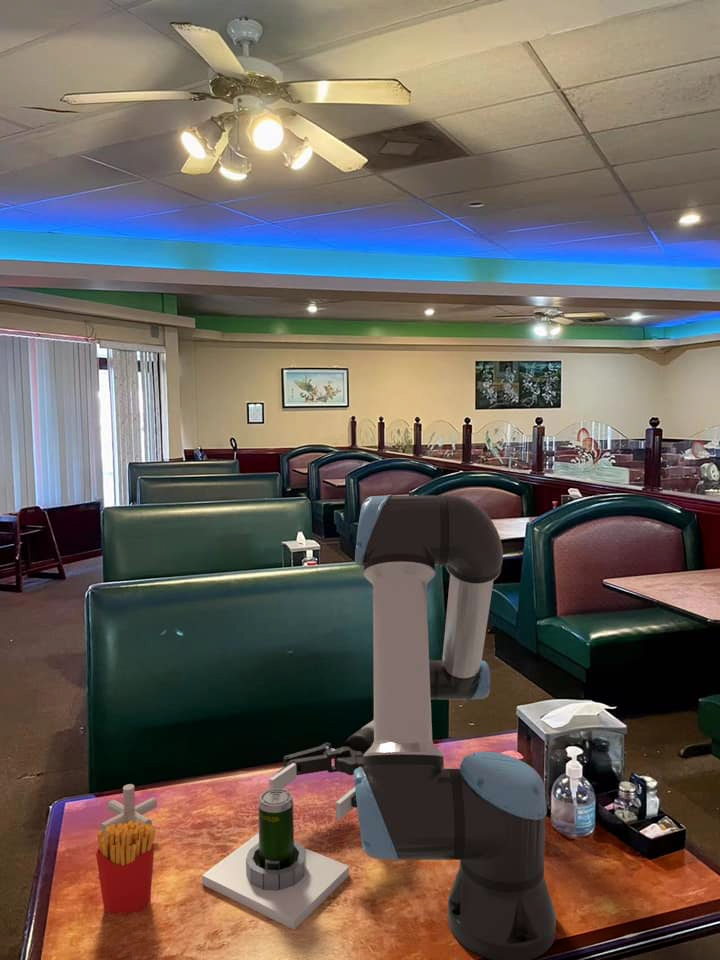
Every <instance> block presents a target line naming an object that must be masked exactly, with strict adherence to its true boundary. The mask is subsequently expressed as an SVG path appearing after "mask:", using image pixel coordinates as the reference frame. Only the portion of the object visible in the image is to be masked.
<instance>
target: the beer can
mask: <svg viewBox="0 0 720 960" xmlns="http://www.w3.org/2000/svg"><path fill="white" fill-rule="evenodd" d="M257 806H258V833H259V867H261V868H263V869H265V870H281V869H284V868H287V867H290V866H291V865H293V864H294V841H295V839H294V836H295V834H294V828H295V827H294V800H293V796H292V793H291V792H290V791H289V790H287V789H284V788H283V789H271V790H270V789H267V790H266V791H263V792H262V793H261V794H260V796H259V802H258V805H257Z"/></svg>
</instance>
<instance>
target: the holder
mask: <svg viewBox="0 0 720 960" xmlns="http://www.w3.org/2000/svg"><path fill="white" fill-rule="evenodd" d="M349 876H350V866H349V865H347V864H345V863H342V862H340V861H336V860H334V859H332V858H329V857H327V856H325V855H322V854H320V853H318V852H315V851H313V850H310V849H308V848H305V847H304V846H303V845H302V844H301V843H299V841H295V840H294V864H293V865H291V866H290V867H287V868H284V869H281V870H265V869H263V868H261V867H259V832H257V833H256V834H255V835H254V836H253V837H251V838H250V839H249V840H247V841H246V842H244V843H243V844H241V845H240V846H239V847H237V848H236V849H235V850H234V851H232V852H231V853H230V854H228V855H227V856H225V857H224V858H223V859H222V860H221V861H219V862H218V863H216V864H215V865H214V866H212V867H211V868H209V870H207V871H206V872H205V873H203V874H202V875H201V879H202V881H201V883H202V884H201V885H203V886H205V887H207V888H209V889H210V890H212V891H215V892H217V893H218V894H221V895H223V896H225V897H227V898H229V899H231V900H233V901H235V902H236V903H238V904H241V905H242V906H245V907H247V908H249V909H250V910H253V911H255V912H258V913H259V914H261V915H262V916H265V917H267V918H269V919H271V920H273V921H274V922H277V923H279V924H282V925H283V926H285V927H287V928H289V929H291V930H293V931H295V930H296V929H297V928H298V927H299V926H300V925H301V924H302V923H304V921H305V920H306V919H307V918H308V917H309V916H310V915H311V914H313V912H314V911H315V910H316V909H318V908H319V906H321V904H322V903H323V902H324V901H325V900H326V899H327V898H328V897H329V896H330V895H332V893H334V891H335V890H336V889H338V887H339V886H340V885H341V884H342V883H343V882H344V881H345V880H346V879H347V878H348V877H349Z"/></svg>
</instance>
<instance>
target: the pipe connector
mask: <svg viewBox="0 0 720 960" xmlns="http://www.w3.org/2000/svg"><path fill="white" fill-rule="evenodd" d="M135 797H136V795H135V785H134V784H133V783H129V784H125V785H123V787H122V800H123V803H121V802H119V801H118V800H115V799H112V800H110V801H109V802H108V804H107V808H106V809H107V810H108V811H109V812H110V813H113V814H115V815H116V816H114V817H111V818H109V819H108V820H106V821H104V822H101V823H100V825H99V830H102V832H103V836H105V833H106V828H107V827H108V826H111V825H112V824H116V828H117V826H118V823H122V825H124V824H128V822H129V820H130V821H133V823H135V822H136V821H140V824H139V825H140V826H141V823H147V825H150V828H152V824H153V821H152V820H151V819H150V818H148V817H147V816H144V815H145V814H147V813H149V812H151V811H153V810H154V809H157V807H158V801H157V799H156V798H155V797H151V798H149V799H147V800H145V801H143V802H141V803H139V804H137V805H136V800H135V799H136V798H135Z"/></svg>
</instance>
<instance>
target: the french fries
mask: <svg viewBox="0 0 720 960" xmlns="http://www.w3.org/2000/svg"><path fill="white" fill-rule="evenodd" d="M139 824H140V821H136V822H135V823H133V821H130V820H129V822H128V824H124V825H122V823H118V826H117V828H116V824H112V825H111V826H108V827H107V828H106V833H105V835H103V832H102V830H100V829H99V830H97V834H96V835H97V842H98V848H97V850H96V852H95V855H96V856H95V857H96V864H97V869H98V871H97V872H98V876H99V882H100V890H101V896H102V903H103V910H104V911H106V912H107V913H108V914H135V913H136V914H138V913H139V912H142V911H145V910H146V909H148V907H149V905H150V901H151V894H152V880H153V867H154V857H155V855H154V854H155V843H154V840H155V832H156V828H157V827H156V826H151V827H150V825H147V823H141V826H140V825H139Z"/></svg>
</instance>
